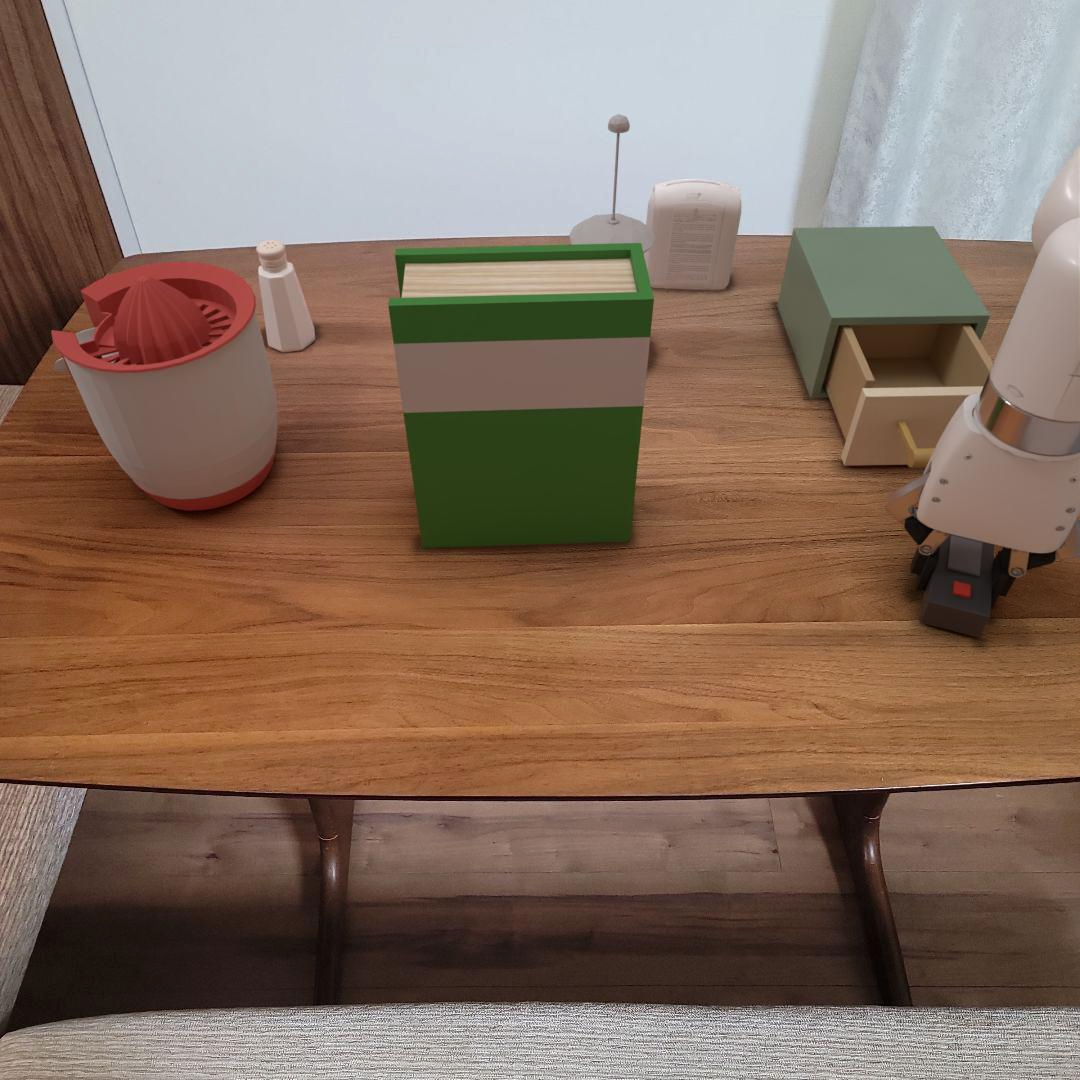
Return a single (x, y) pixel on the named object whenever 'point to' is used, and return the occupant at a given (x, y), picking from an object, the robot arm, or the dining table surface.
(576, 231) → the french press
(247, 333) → the citrus juicer
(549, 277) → the hardback book
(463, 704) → the dining table surface
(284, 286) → the salt shaker
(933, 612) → the remote
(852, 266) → the cabinet
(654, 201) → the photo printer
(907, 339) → the drawer
